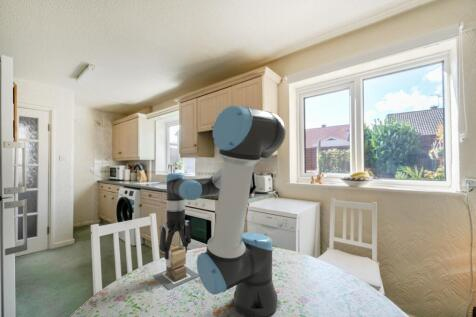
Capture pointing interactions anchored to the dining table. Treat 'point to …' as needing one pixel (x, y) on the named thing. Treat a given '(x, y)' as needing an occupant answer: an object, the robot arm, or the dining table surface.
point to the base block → (176, 272)
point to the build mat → (170, 283)
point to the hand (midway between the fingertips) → (176, 263)
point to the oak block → (177, 257)
